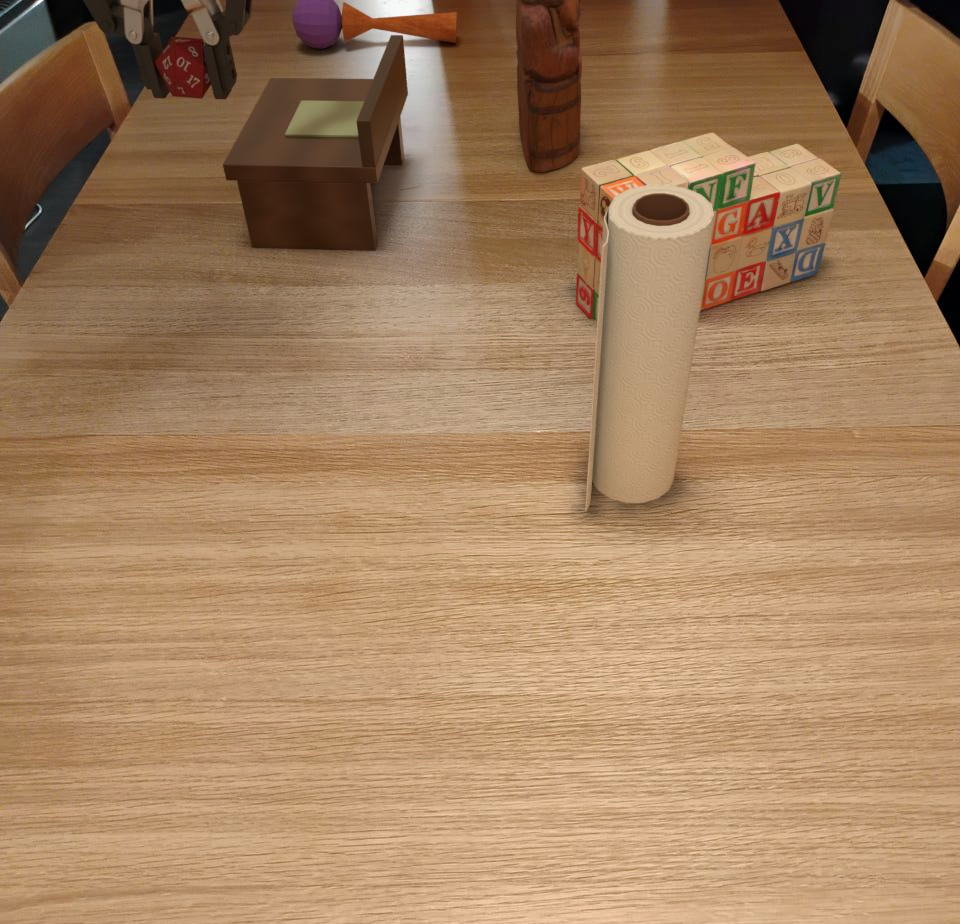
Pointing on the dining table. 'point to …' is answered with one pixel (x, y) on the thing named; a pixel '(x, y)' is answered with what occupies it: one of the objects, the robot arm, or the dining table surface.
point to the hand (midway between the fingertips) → (193, 93)
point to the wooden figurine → (549, 81)
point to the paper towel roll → (645, 337)
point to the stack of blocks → (722, 212)
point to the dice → (184, 67)
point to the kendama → (364, 23)
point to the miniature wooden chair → (320, 156)
